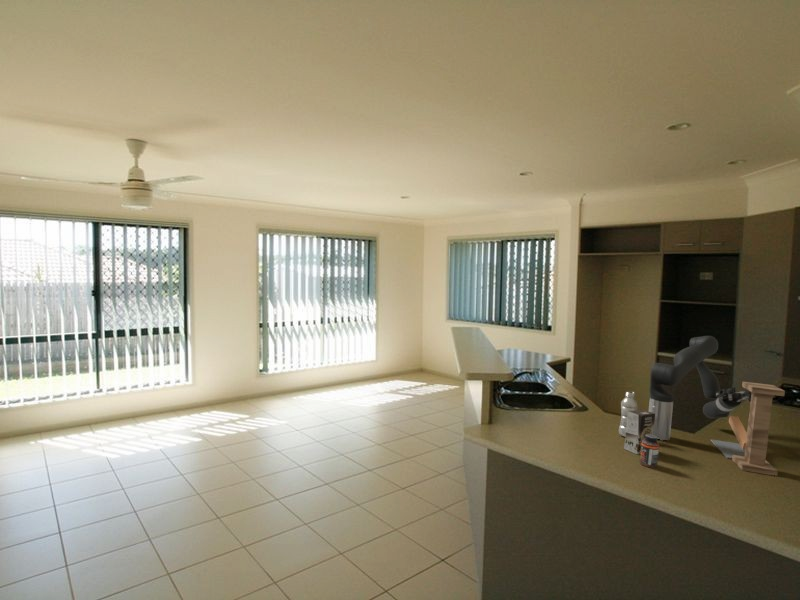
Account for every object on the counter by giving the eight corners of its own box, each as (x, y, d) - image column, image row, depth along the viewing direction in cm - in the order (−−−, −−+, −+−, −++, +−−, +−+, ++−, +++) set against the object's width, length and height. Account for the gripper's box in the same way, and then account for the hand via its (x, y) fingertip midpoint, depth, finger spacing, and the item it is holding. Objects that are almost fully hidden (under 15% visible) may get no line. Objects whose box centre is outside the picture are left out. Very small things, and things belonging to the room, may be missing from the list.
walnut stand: (777, 476, 172) (787, 391, 170) (742, 470, 176) (751, 387, 174) (764, 464, 183) (773, 384, 180) (732, 459, 186) (740, 381, 184)
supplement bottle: (636, 461, 178) (638, 432, 177) (650, 461, 179) (653, 433, 178) (645, 468, 172) (648, 438, 171) (660, 468, 173) (663, 438, 172)
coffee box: (637, 455, 185) (641, 415, 184) (623, 449, 191) (627, 410, 190) (652, 452, 189) (656, 413, 188) (637, 446, 195) (641, 408, 194)
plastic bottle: (636, 440, 202) (641, 395, 201) (620, 438, 204) (624, 393, 202) (632, 435, 209) (636, 391, 207) (616, 433, 210) (620, 389, 209)
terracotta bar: (751, 450, 185) (753, 444, 184) (742, 449, 186) (744, 442, 185) (736, 422, 203) (738, 416, 202) (728, 421, 204) (730, 415, 203)
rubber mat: (768, 465, 183) (768, 463, 182) (727, 458, 187) (727, 457, 187) (747, 445, 203) (747, 444, 203) (710, 440, 208) (710, 439, 208)
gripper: (709, 391, 214) (721, 379, 200) (745, 395, 210) (761, 383, 195) (710, 406, 211) (723, 396, 197) (747, 411, 207) (763, 401, 192)
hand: (742, 390), depth 196 cm, fingers open, 4 cm apart
